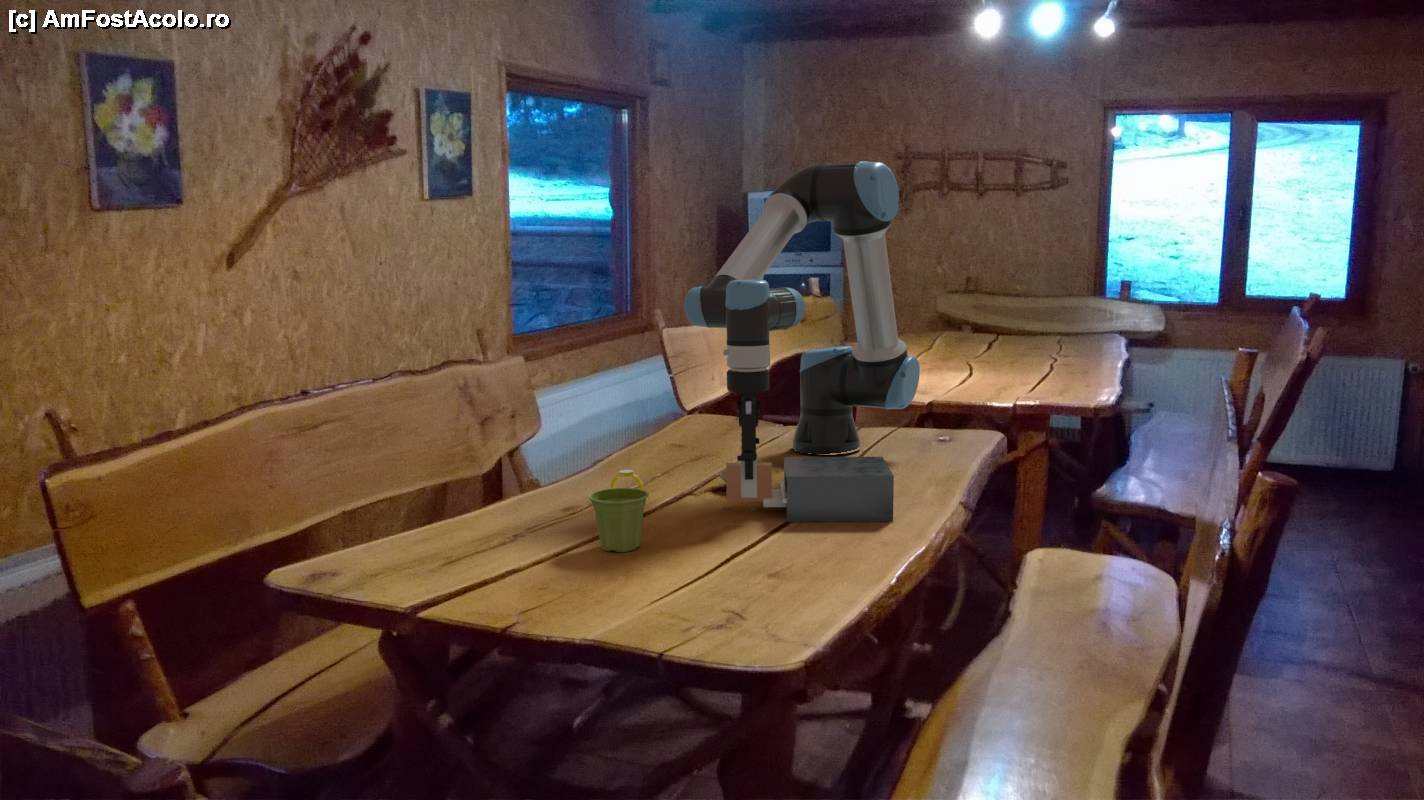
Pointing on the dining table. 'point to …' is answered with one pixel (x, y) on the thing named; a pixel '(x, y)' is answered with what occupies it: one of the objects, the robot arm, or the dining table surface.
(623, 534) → the plant pot
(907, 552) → the dining table surface
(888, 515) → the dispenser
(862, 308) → the robot arm
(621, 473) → the watch
